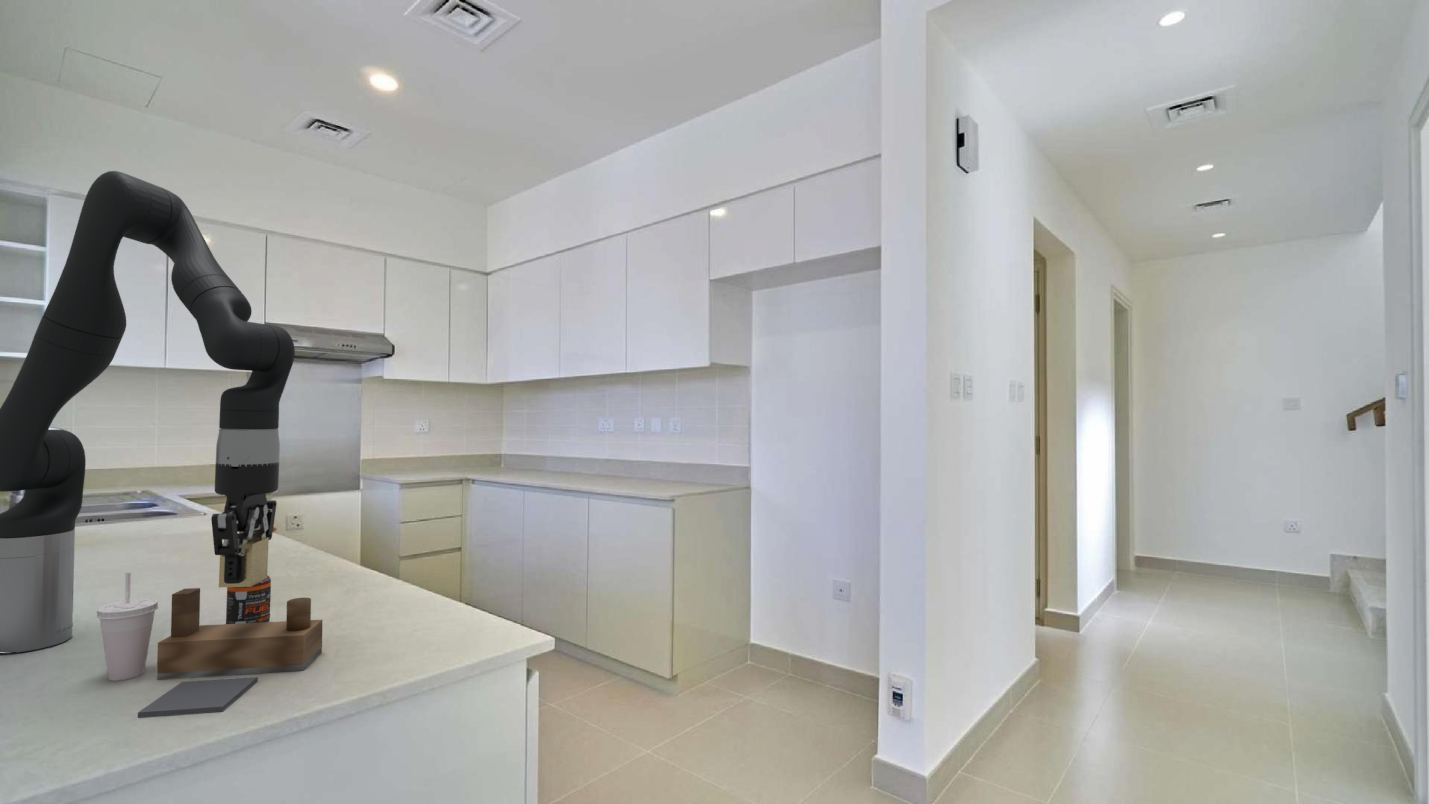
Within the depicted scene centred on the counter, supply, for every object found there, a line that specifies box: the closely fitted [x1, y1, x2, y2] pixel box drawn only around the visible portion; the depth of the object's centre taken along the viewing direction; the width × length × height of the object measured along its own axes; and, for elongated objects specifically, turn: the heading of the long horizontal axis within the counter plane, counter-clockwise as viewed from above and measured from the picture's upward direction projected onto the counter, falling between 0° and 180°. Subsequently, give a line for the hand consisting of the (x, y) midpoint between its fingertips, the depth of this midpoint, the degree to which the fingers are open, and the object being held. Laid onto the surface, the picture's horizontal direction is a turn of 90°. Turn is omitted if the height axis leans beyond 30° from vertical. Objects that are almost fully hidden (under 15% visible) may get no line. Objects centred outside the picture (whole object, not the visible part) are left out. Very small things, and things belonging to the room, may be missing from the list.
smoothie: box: [96, 572, 159, 681], centre depth 91 cm, size 6×6×14 cm
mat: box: [137, 676, 259, 718], centre depth 84 cm, size 9×9×1 cm
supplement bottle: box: [225, 574, 272, 624], centre depth 108 cm, size 6×6×11 cm
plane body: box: [156, 587, 323, 681], centre depth 95 cm, size 18×7×11 cm, turn 102°
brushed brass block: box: [218, 537, 270, 588], centre depth 95 cm, size 4×5×7 cm
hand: (243, 577), depth 95 cm, fingers closed on brushed brass block, 5 cm apart
